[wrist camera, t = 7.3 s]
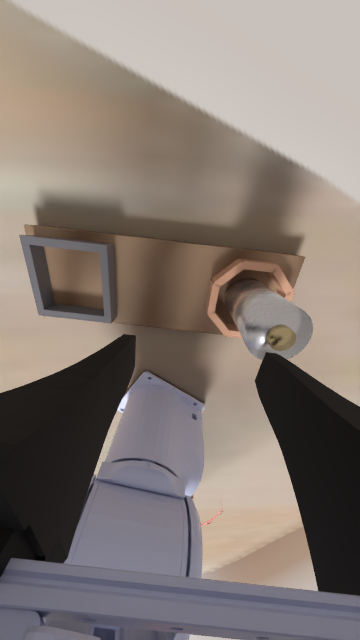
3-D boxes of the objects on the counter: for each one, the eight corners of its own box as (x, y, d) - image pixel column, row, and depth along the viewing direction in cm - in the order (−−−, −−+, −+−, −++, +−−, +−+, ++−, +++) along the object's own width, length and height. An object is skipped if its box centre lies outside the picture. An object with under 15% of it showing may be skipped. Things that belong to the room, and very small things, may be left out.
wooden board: (295, 255, 16) (305, 257, 15) (268, 333, 20) (273, 340, 18) (37, 225, 16) (23, 224, 15) (54, 309, 20) (44, 314, 18)
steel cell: (273, 292, 16) (333, 334, 10) (244, 322, 18) (279, 376, 11) (244, 268, 16) (286, 295, 9) (216, 300, 17) (234, 345, 10)
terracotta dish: (293, 264, 15) (303, 267, 14) (269, 333, 18) (275, 341, 17) (214, 255, 15) (217, 258, 14) (202, 326, 18) (203, 333, 17)
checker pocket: (113, 244, 15) (106, 245, 14) (117, 316, 18) (111, 323, 17) (34, 235, 15) (19, 235, 14) (50, 308, 18) (38, 315, 17)
